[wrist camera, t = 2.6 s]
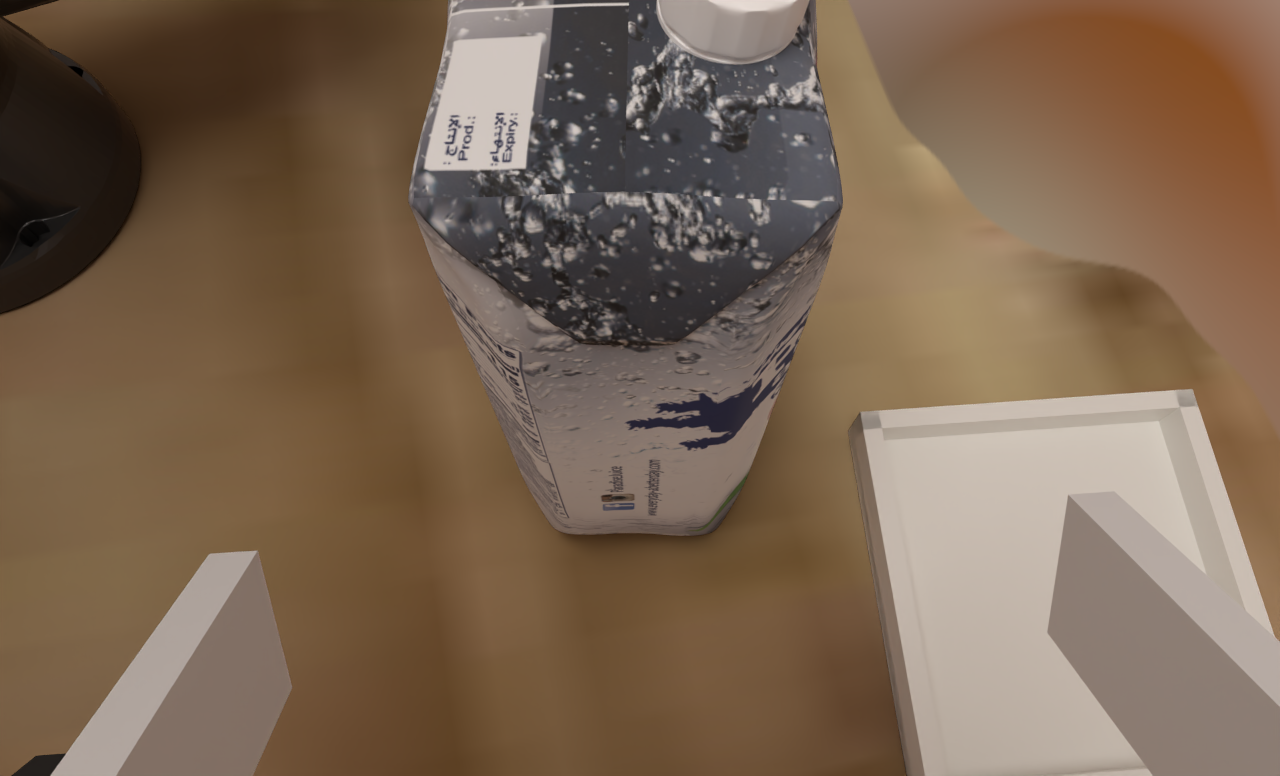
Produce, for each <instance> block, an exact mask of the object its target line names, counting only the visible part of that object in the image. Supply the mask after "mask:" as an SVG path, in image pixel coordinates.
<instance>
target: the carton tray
mask: <svg viewBox="0 0 1280 776" xmlns="http://www.w3.org/2000/svg"><path fill="white" fill-rule="evenodd" d="M848 435H849V441H850V447H851V452H852V458H853V464H854V470H855V476H856V482H857V487H858V493H859V499H860V505H861V511H862V517H863V523H864V528H865V534H866V540H867V546H868V552H869V558H870V564H871V569H872V575H873V581H874V587H875V593H876V599H877V605H878V610H879V616H880V622H881V628H882V634H883V640H884V646H885V651H886V657H887V663H888V669H889V675H890V681H891V687H892V692H893V698H894V704H895V710H896V716H897V722H898V728H899V733H900V739H901V745H902V751H903V757H904V763H905V769H906V774H907V776H1153V775H1152V774H1151V772H1150V771H1149V770H1148V768H1147V767H1146V766H1145V764H1144V763H1143V762H1142V760H1141V759H1140V757H1139V756H1138V755H1137V753H1136V752H1135V751H1134V749H1133V748H1132V747H1131V745H1130V744H1129V743H1128V741H1127V740H1126V739H1125V737H1124V736H1123V734H1122V733H1121V732H1120V730H1119V729H1118V728H1117V726H1116V725H1115V724H1114V722H1113V721H1112V720H1111V718H1110V717H1109V716H1108V714H1107V713H1106V711H1105V710H1104V709H1103V707H1102V706H1101V705H1100V703H1099V702H1098V701H1097V699H1096V698H1095V697H1094V695H1093V694H1092V692H1091V691H1090V690H1089V688H1088V687H1087V686H1086V684H1085V683H1084V682H1083V680H1082V679H1081V678H1080V676H1079V675H1078V674H1077V672H1076V671H1075V669H1074V668H1073V667H1072V665H1071V664H1070V663H1069V661H1068V660H1067V659H1066V657H1065V656H1064V655H1063V653H1062V652H1061V651H1060V649H1059V648H1058V646H1057V645H1056V644H1055V642H1054V641H1053V640H1052V638H1051V637H1050V636H1049V634H1048V633H1047V631H1048V624H1049V617H1050V611H1051V604H1052V598H1053V591H1054V585H1055V578H1056V571H1057V565H1058V558H1059V552H1060V545H1061V538H1062V532H1063V525H1064V519H1065V512H1066V506H1067V499H1068V495H1069V494H1083V493H1098V492H1112V491H1115V492H1116V493H1117V494H1118V495H1119V496H1120V497H1121V498H1122V499H1123V500H1124V501H1126V502H1127V503H1128V504H1129V505H1130V506H1131V507H1132V508H1133V509H1134V510H1135V511H1137V512H1138V513H1139V514H1140V515H1141V516H1142V517H1143V518H1144V519H1145V520H1146V521H1148V522H1149V523H1150V524H1151V525H1152V526H1153V527H1154V528H1155V529H1156V530H1157V531H1159V532H1160V533H1161V534H1162V535H1163V536H1164V537H1165V538H1166V539H1167V540H1168V541H1170V542H1171V543H1172V544H1173V545H1174V546H1175V547H1176V548H1177V549H1178V550H1179V551H1181V552H1182V553H1183V554H1184V555H1185V556H1186V557H1187V558H1188V559H1189V560H1190V561H1192V562H1193V563H1194V564H1195V565H1196V566H1197V567H1198V568H1199V569H1200V570H1201V571H1203V572H1204V573H1205V574H1206V575H1207V576H1208V577H1209V578H1210V579H1211V580H1212V581H1214V582H1215V583H1216V584H1217V585H1218V586H1219V587H1220V588H1221V589H1222V590H1223V591H1225V592H1226V593H1227V594H1228V595H1229V596H1230V597H1231V598H1232V599H1233V600H1234V601H1236V602H1237V603H1238V604H1239V605H1240V606H1241V607H1242V608H1243V609H1244V610H1245V611H1247V612H1248V613H1249V614H1250V615H1251V616H1252V617H1253V618H1254V619H1255V620H1256V621H1258V622H1259V623H1260V624H1261V625H1262V626H1263V627H1264V628H1265V629H1266V630H1267V631H1269V632H1270V633H1271V634H1272V635H1273V636H1274V633H1273V630H1272V627H1271V624H1270V621H1269V618H1268V615H1267V612H1266V609H1265V606H1264V603H1263V600H1262V597H1261V594H1260V591H1259V588H1258V585H1257V582H1256V579H1255V576H1254V573H1253V570H1252V567H1251V564H1250V561H1249V558H1248V555H1247V552H1246V549H1245V546H1244V543H1243V540H1242V537H1241V534H1240V531H1239V528H1238V525H1237V522H1236V519H1235V516H1234V513H1233V510H1232V507H1231V504H1230V501H1229V498H1228V495H1227V492H1226V489H1225V486H1224V483H1223V480H1222V477H1221V474H1220V471H1219V468H1218V465H1217V462H1216V459H1215V456H1214V453H1213V450H1212V447H1211V444H1210V441H1209V438H1208V435H1207V432H1206V429H1205V426H1204V423H1203V420H1202V417H1201V414H1200V411H1199V408H1198V405H1197V402H1196V399H1195V396H1194V393H1193V390H1192V389H1187V390H1172V391H1158V392H1143V393H1128V394H1114V395H1099V396H1085V397H1070V398H1056V399H1041V400H1027V401H1012V402H998V403H983V404H968V405H954V406H939V407H925V408H910V409H896V410H881V411H867V412H860V413H859V415H858V416H857V418H856V419H855V421H854V423H853V424H852V426H851V427H850V429H849V430H848ZM1274 637H1275V636H1274Z"/></svg>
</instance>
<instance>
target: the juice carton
mask: <svg viewBox="0 0 1280 776" xmlns="http://www.w3.org/2000/svg"><path fill="white" fill-rule="evenodd" d="M409 204H410V207H411V209H412V211H413V214H414V216H415V218H416V220H417V223H418V225H419V227H420V230H421V232H422V235H423V238H424V241H425V244H426V247H427V250H428V252H429V255H430V258H431V261H432V263H433V266H434V268H435V271H436V273H437V276H438V278H439V281H440V283H441V286H442V288H443V291H444V293H445V295H446V298H447V300H448V302H449V305H450V307H451V310H452V312H453V314H454V317H455V319H456V322H457V324H458V326H459V329H460V331H461V333H462V336H463V338H464V340H465V343H466V345H467V347H468V350H469V352H470V355H471V357H472V359H473V362H474V364H475V366H476V369H477V371H478V373H479V376H480V378H481V380H482V383H483V385H484V388H485V390H486V392H487V395H488V397H489V399H490V402H491V404H492V406H493V409H494V411H495V413H496V416H497V418H498V421H499V423H500V425H501V428H502V430H503V432H504V435H505V437H506V439H507V442H508V444H509V446H510V449H511V451H512V453H513V456H514V458H515V460H516V463H517V465H518V467H519V470H520V472H521V474H522V476H523V479H524V481H525V483H526V485H527V487H528V489H529V490H530V492H531V494H532V496H533V497H534V499H535V501H536V502H537V504H538V505H539V507H540V509H541V510H542V512H543V514H544V515H545V517H546V518H547V520H548V521H549V523H550V524H551V525H552V526H553V528H555V529H556V530H558V531H560V532H563V533H567V534H584V535H590V534H613V533H648V534H662V535H679V536H693V535H703V534H708V533H711V532H713V531H714V530H716V529H717V528H718V526H719V525H720V524H721V522H722V521H723V519H724V518H725V516H726V515H727V513H728V511H729V510H730V508H731V506H732V505H733V503H734V501H735V500H736V498H737V496H738V495H739V493H740V491H741V489H742V487H743V485H744V483H745V480H746V478H747V476H748V473H749V471H750V468H751V465H752V463H753V460H754V458H755V455H756V452H757V450H758V447H759V445H760V442H761V439H762V437H763V434H764V431H765V429H766V426H767V423H768V421H769V418H770V416H771V413H772V410H773V408H774V405H775V402H776V400H777V397H778V394H779V392H780V389H781V387H782V384H783V381H784V379H785V376H786V373H787V371H788V368H789V365H790V363H791V360H792V357H793V355H794V352H795V350H796V347H797V344H798V342H799V339H800V336H801V334H802V331H803V328H804V326H805V323H806V320H807V318H808V315H809V312H810V310H811V307H812V304H813V302H814V299H815V296H816V294H817V291H818V288H819V285H820V282H821V280H822V277H823V274H824V271H825V268H826V265H827V262H828V259H829V255H830V252H831V248H832V243H833V239H834V235H835V231H836V227H837V224H838V220H839V216H840V213H841V210H842V204H843V197H842V187H841V180H840V174H839V167H838V162H837V157H836V152H835V147H834V142H833V137H832V132H831V128H830V124H829V119H828V115H827V110H826V106H825V102H824V97H823V93H822V88H821V84H820V80H819V75H818V71H817V23H816V0H448V20H447V33H446V38H445V43H444V48H443V54H442V59H441V64H440V67H439V71H438V75H437V78H436V82H435V85H434V89H433V93H432V96H431V100H430V104H429V107H428V111H427V115H426V118H425V122H424V125H423V129H422V133H421V137H420V141H419V145H418V149H417V153H416V157H415V161H414V166H413V171H412V176H411V181H410V188H409Z"/></svg>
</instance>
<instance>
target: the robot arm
mask: <svg viewBox="0 0 1280 776" xmlns="http://www.w3.org/2000/svg"><path fill="white" fill-rule="evenodd" d="M55 1H58V0H0V313H1V312H4V311H7V310H10V309H13V308H16V307H19V306H21V305H24V304H26V303H29V302H31V301H33V300H35V299H37V298H39V297H41V296H43V295H45V294H47V293H49V292H51V291H52V290H54V289H56V288H57V287H59V286H60V285H62V284H64V283H65V282H66V281H68V280H69V279H71V278H72V277H74V276H75V275H76V274H77V273H79V272H80V271H81V270H82V269H84V268H85V267H86V266H87V265H88V264H89V263H90V262H91V261H92V260H93V259H94V258H95V257H96V256H97V255H98V254H99V253H100V252H101V251H102V250H103V249H104V248H105V247H106V246H107V244H108V243H109V242H110V241H111V239H112V238H113V237H114V235H115V234H116V233H117V231H118V230H119V228H120V227H121V225H122V223H123V222H124V220H125V218H126V216H127V214H128V212H129V210H130V208H131V206H132V203H133V201H134V198H135V195H136V191H137V188H138V183H139V178H140V170H141V157H140V148H139V143H138V139H137V136H136V133H135V130H134V128H133V126H132V124H131V122H130V120H129V119H128V117H127V115H126V114H125V113H124V111H123V110H122V109H121V108H120V106H119V105H118V104H117V103H116V101H115V100H114V99H113V98H112V96H111V95H110V94H109V93H108V91H107V90H106V89H105V88H104V87H103V85H102V84H101V83H100V82H99V81H98V80H97V79H96V78H95V77H94V76H93V75H92V74H91V73H89V72H88V71H87V70H86V69H85V68H83V67H82V66H81V65H79V64H78V63H76V62H75V61H73V60H71V59H70V58H68V57H66V56H65V55H63V54H61V53H59V52H57V51H54V50H52V49H49V48H47V47H46V46H45V45H44V44H43V43H41V42H40V41H39V40H38V39H36V38H35V37H33V36H32V35H31V34H29V33H28V32H26V31H25V30H23V29H21V28H20V27H18V26H17V25H15V24H14V23H12V22H10V21H9V20H7V19H6V18H4V17H2V16H6V15H9V14H13V13H16V12H20V11H23V10H27V9H30V8H34V7H37V6H41V5H44V4H48V3H51V2H55ZM1047 633H1048V634H1049V636H1050V637H1051V638H1052V640H1053V641H1054V642H1055V644H1056V645H1057V646H1058V648H1059V649H1060V651H1061V652H1062V653H1063V655H1064V656H1065V657H1066V659H1067V660H1068V661H1069V663H1070V664H1071V665H1072V667H1073V668H1074V669H1075V671H1076V672H1077V674H1078V675H1079V676H1080V678H1081V679H1082V680H1083V682H1084V683H1085V684H1086V686H1087V687H1088V688H1089V690H1090V691H1091V692H1092V694H1093V695H1094V697H1095V698H1096V699H1097V701H1098V702H1099V703H1100V705H1101V706H1102V707H1103V709H1104V710H1105V711H1106V713H1107V714H1108V716H1109V717H1110V718H1111V720H1112V721H1113V722H1114V724H1115V725H1116V726H1117V728H1118V729H1119V730H1120V732H1121V733H1122V734H1123V736H1124V737H1125V739H1126V740H1127V741H1128V743H1129V744H1130V745H1131V747H1132V748H1133V749H1134V751H1135V752H1136V753H1137V755H1138V756H1139V757H1140V759H1141V760H1142V762H1143V763H1144V764H1145V766H1146V767H1147V768H1148V770H1149V771H1150V772H1151V774H1152V775H1153V776H1280V641H1278V640H1277V639H1276V638H1275V637H1274V636H1273V635H1272V634H1271V633H1270V632H1269V631H1267V630H1266V629H1265V628H1264V627H1263V626H1262V625H1261V624H1260V623H1259V622H1258V621H1256V620H1255V619H1254V618H1253V617H1252V616H1251V615H1250V614H1249V613H1248V612H1247V611H1245V610H1244V609H1243V608H1242V607H1241V606H1240V605H1239V604H1238V603H1237V602H1236V601H1234V600H1233V599H1232V598H1231V597H1230V596H1229V595H1228V594H1227V593H1226V592H1225V591H1223V590H1222V589H1221V588H1220V587H1219V586H1218V585H1217V584H1216V583H1215V582H1214V581H1212V580H1211V579H1210V578H1209V577H1208V576H1207V575H1206V574H1205V573H1204V572H1203V571H1201V570H1200V569H1199V568H1198V567H1197V566H1196V565H1195V564H1194V563H1193V562H1192V561H1190V560H1189V559H1188V558H1187V557H1186V556H1185V555H1184V554H1183V553H1182V552H1181V551H1179V550H1178V549H1177V548H1176V547H1175V546H1174V545H1173V544H1172V543H1171V542H1170V541H1168V540H1167V539H1166V538H1165V537H1164V536H1163V535H1162V534H1161V533H1160V532H1159V531H1157V530H1156V529H1155V528H1154V527H1153V526H1152V525H1151V524H1150V523H1149V522H1148V521H1146V520H1145V519H1144V518H1143V517H1142V516H1141V515H1140V514H1139V513H1138V512H1137V511H1135V510H1134V509H1133V508H1132V507H1131V506H1130V505H1129V504H1128V503H1127V502H1126V501H1124V500H1123V499H1122V498H1121V497H1120V496H1119V495H1118V494H1117V493H1116V492H1115V491H1112V492H1098V493H1083V494H1069V495H1068V499H1067V506H1066V512H1065V519H1064V525H1063V532H1062V538H1061V545H1060V552H1059V558H1058V565H1057V571H1056V578H1055V585H1054V591H1053V598H1052V604H1051V611H1050V617H1049V624H1048V631H1047ZM291 689H292V685H291V681H290V677H289V673H288V669H287V665H286V661H285V657H284V653H283V649H282V645H281V641H280V637H279V633H278V629H277V625H276V621H275V617H274V613H273V609H272V605H271V601H270V597H269V593H268V589H267V585H266V581H265V577H264V573H263V569H262V565H261V561H260V557H259V553H258V551H244V552H229V553H215V554H209V555H208V556H207V558H206V559H205V561H204V562H203V563H202V565H201V566H200V568H199V569H198V570H197V572H196V573H195V575H194V576H193V577H192V579H191V580H190V582H189V583H188V584H187V586H186V587H185V589H184V590H183V591H182V593H181V594H180V595H179V597H178V598H177V600H176V601H175V602H174V604H173V605H172V607H171V608H170V609H169V611H168V612H167V614H166V615H165V616H164V618H163V619H162V621H161V622H160V623H159V625H158V626H157V628H156V629H155V630H154V632H153V633H152V635H151V636H150V637H149V639H148V640H147V642H146V643H145V644H144V646H143V647H142V649H141V650H140V651H139V653H138V654H137V655H136V657H135V658H134V660H133V661H132V662H131V664H130V665H129V667H128V668H127V669H126V671H125V672H124V674H123V675H122V676H121V678H120V679H119V681H118V682H117V683H116V685H115V686H114V688H113V689H112V690H111V692H110V693H109V695H108V696H107V697H106V699H105V700H104V702H103V703H102V704H101V706H100V707H99V709H98V710H97V711H96V713H95V714H94V715H93V717H92V718H91V720H90V721H89V722H88V724H87V725H86V727H85V728H84V729H83V731H82V732H81V734H80V735H79V736H78V738H77V739H76V741H75V742H74V743H73V745H72V746H71V748H70V749H69V750H68V752H67V753H66V754H54V755H41V756H35V757H34V758H33V759H32V760H30V761H29V762H28V763H27V764H25V765H24V766H23V767H22V768H20V769H19V770H18V771H17V772H16V773H14V774H13V775H12V776H253V774H254V772H255V769H256V767H257V765H258V763H259V760H260V758H261V756H262V754H263V752H264V749H265V747H266V745H267V743H268V740H269V738H270V736H271V734H272V732H273V729H274V727H275V725H276V723H277V720H278V718H279V716H280V714H281V712H282V709H283V707H284V705H285V703H286V700H287V698H288V696H289V694H290V692H291Z"/></svg>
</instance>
